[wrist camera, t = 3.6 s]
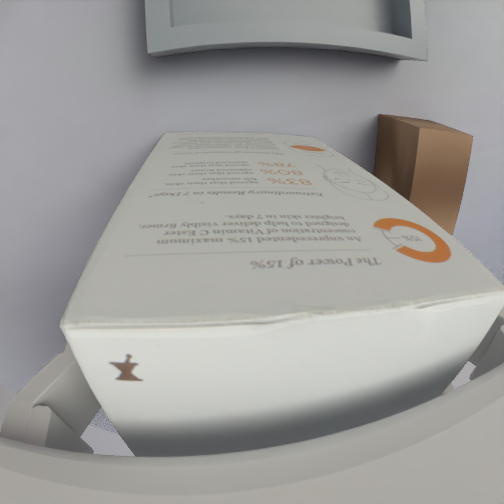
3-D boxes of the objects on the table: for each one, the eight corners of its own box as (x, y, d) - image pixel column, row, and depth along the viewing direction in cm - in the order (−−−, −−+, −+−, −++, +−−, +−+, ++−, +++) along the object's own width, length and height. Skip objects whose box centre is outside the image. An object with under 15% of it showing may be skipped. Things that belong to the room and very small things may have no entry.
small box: (166, 242, 17) (143, 477, 6) (161, 131, 14) (41, 320, 3) (303, 240, 19) (405, 439, 8) (318, 136, 15) (519, 286, 4)
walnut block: (377, 113, 15) (419, 127, 12) (429, 120, 15) (473, 136, 12) (368, 208, 18) (401, 240, 15) (416, 206, 19) (452, 234, 15)
